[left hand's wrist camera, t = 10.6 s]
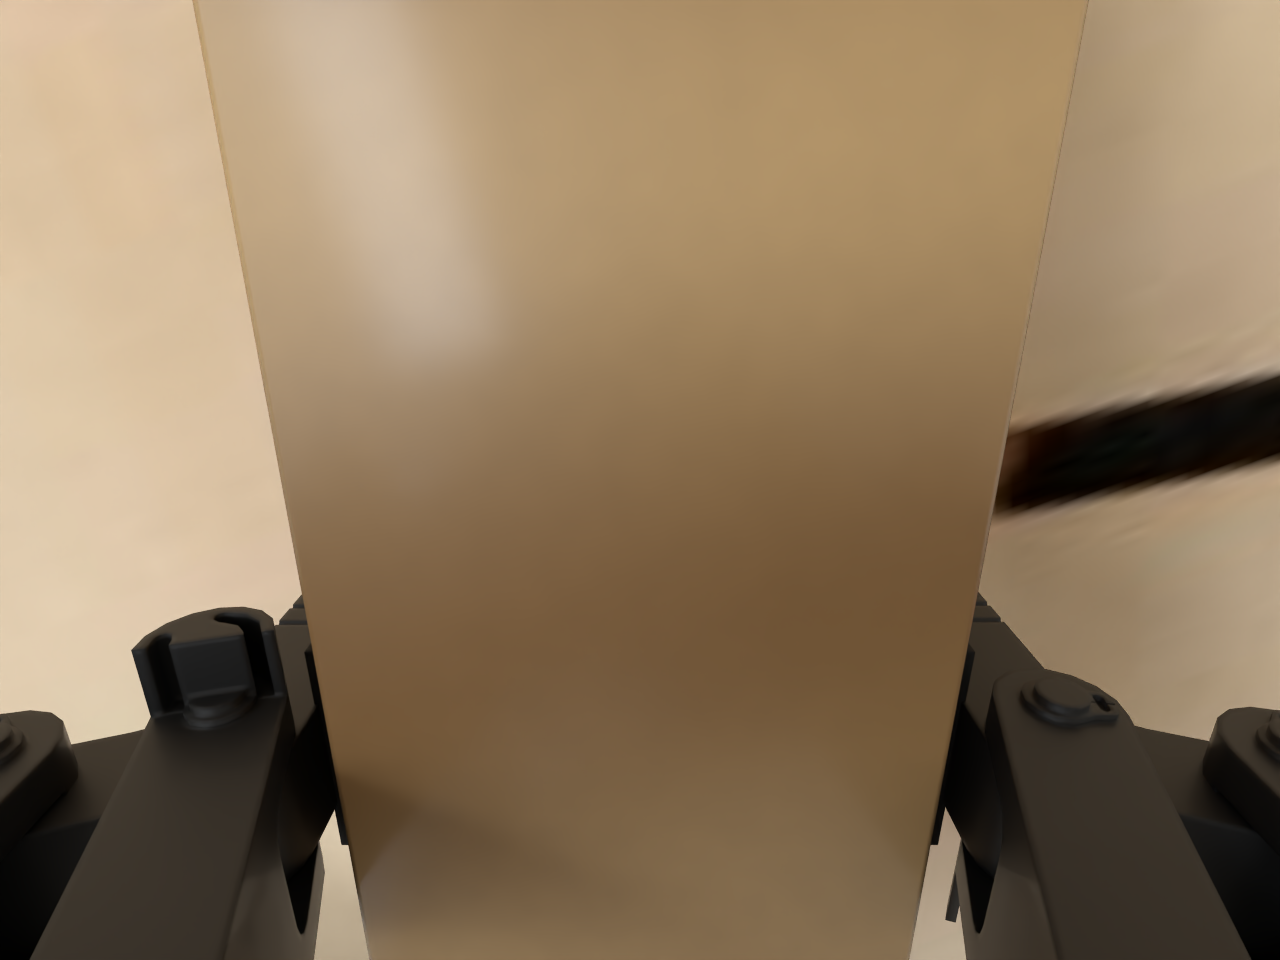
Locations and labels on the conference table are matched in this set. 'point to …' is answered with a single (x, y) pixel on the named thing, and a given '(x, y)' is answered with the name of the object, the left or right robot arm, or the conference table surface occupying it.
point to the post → (639, 440)
